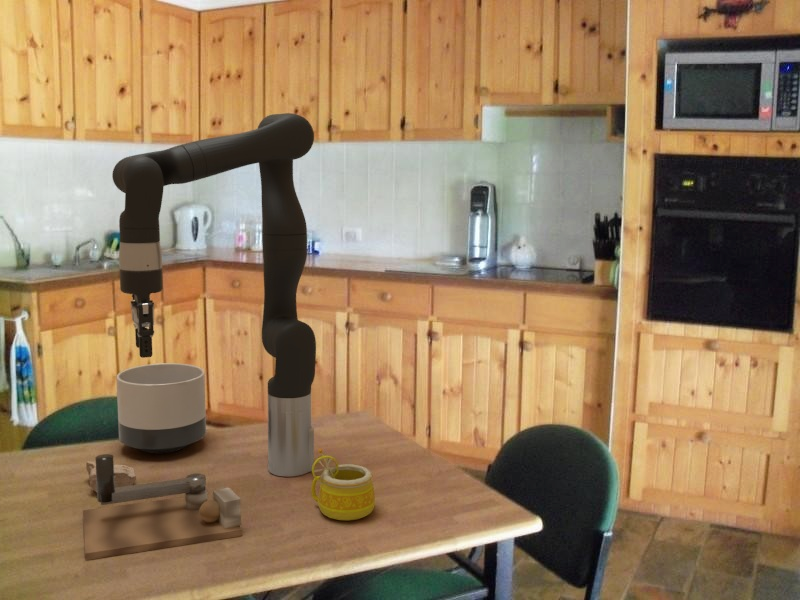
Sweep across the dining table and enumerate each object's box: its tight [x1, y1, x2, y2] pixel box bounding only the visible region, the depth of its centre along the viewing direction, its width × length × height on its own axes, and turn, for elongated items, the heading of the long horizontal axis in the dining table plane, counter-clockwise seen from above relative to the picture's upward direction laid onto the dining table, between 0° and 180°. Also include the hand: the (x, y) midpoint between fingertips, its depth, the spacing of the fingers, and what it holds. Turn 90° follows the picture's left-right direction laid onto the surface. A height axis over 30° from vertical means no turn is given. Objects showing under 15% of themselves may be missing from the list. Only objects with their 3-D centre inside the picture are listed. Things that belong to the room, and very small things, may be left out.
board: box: [82, 487, 243, 561], centre depth 147 cm, size 26×18×6 cm
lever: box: [95, 453, 207, 506], centre depth 149 cm, size 19×4×8 cm, turn 114°
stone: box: [85, 460, 137, 493], centre depth 165 cm, size 9×11×5 cm
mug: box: [310, 448, 376, 522], centre depth 154 cm, size 13×11×12 cm
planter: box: [116, 362, 207, 455], centre depth 186 cm, size 19×19×18 cm
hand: (143, 351), depth 152 cm, fingers open, 8 cm apart
